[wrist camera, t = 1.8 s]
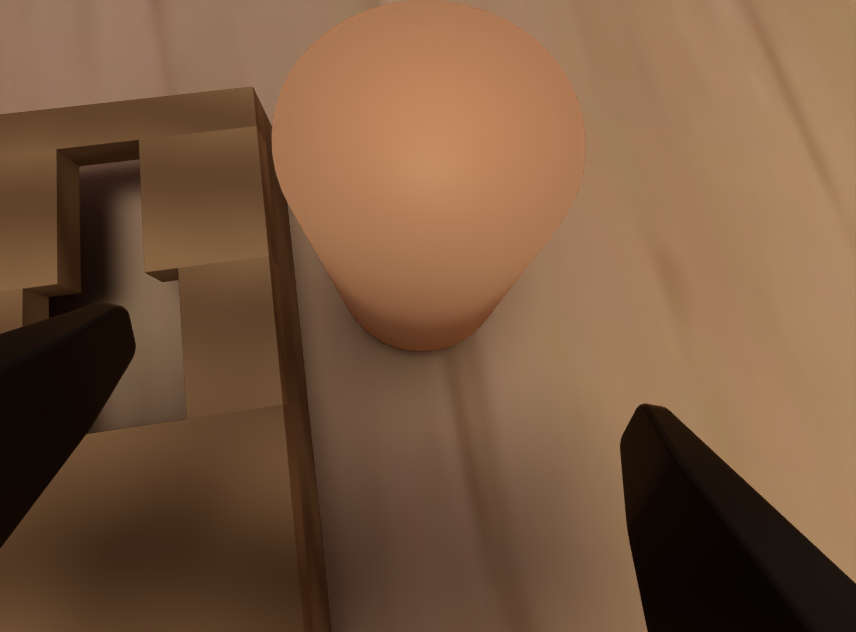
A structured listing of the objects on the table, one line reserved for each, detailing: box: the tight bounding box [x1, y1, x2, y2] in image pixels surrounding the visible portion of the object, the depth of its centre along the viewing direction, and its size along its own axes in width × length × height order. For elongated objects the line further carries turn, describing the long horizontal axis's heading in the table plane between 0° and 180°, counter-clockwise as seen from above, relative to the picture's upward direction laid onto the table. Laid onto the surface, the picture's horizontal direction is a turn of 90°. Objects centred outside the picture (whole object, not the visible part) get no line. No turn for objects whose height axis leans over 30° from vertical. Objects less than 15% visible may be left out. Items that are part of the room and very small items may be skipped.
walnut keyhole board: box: [0, 87, 332, 632], centre depth 18 cm, size 20×11×4 cm, turn 9°
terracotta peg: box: [272, 0, 586, 351], centre depth 15 cm, size 6×6×12 cm
